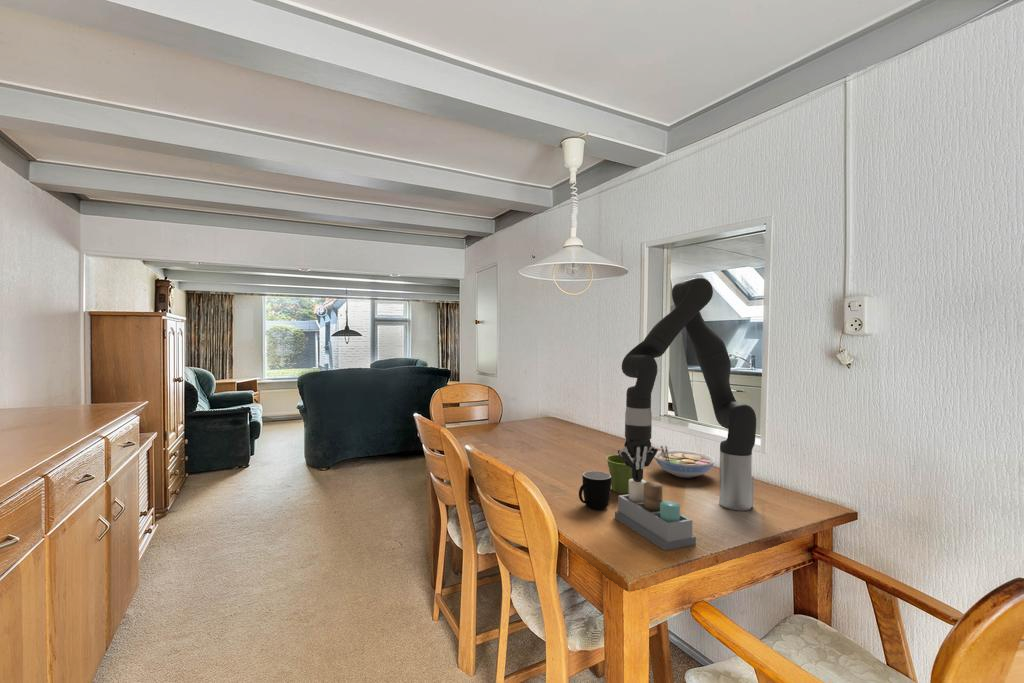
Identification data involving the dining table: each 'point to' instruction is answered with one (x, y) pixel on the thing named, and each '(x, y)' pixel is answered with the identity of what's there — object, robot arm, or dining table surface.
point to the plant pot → (619, 474)
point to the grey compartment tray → (655, 525)
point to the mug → (596, 489)
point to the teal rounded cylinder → (670, 511)
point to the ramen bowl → (684, 462)
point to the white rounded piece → (636, 491)
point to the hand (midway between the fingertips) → (637, 481)
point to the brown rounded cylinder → (652, 496)
